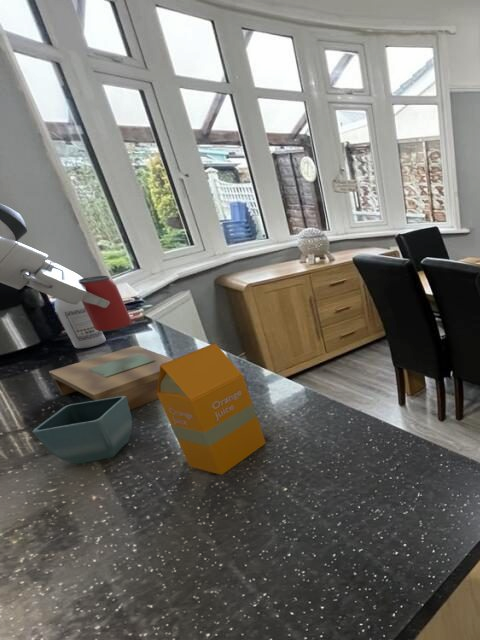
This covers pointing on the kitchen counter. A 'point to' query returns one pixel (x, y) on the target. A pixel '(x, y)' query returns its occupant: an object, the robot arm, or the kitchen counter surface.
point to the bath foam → (78, 324)
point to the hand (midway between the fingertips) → (106, 301)
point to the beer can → (114, 312)
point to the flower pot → (87, 430)
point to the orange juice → (209, 409)
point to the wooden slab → (114, 376)
